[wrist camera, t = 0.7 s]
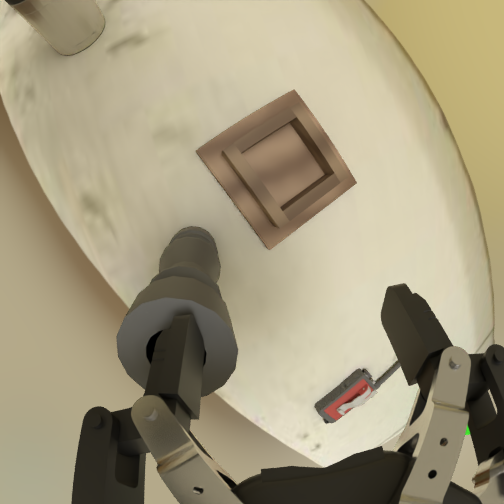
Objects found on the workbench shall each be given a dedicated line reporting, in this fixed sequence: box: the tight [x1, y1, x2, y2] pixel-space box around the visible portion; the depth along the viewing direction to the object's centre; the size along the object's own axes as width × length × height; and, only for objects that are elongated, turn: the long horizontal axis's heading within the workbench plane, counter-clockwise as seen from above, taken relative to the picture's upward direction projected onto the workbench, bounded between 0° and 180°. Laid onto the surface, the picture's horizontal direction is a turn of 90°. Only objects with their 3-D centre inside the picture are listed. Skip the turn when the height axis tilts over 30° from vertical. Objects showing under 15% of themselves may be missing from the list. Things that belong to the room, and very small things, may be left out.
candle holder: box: [117, 226, 238, 397], centre depth 23 cm, size 6×6×25 cm
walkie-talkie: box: [315, 362, 401, 424], centre depth 44 cm, size 9×4×20 cm
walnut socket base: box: [196, 90, 357, 250], centre depth 33 cm, size 16×16×4 cm
